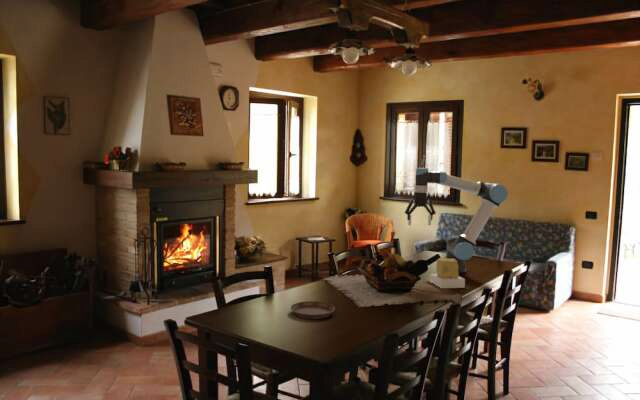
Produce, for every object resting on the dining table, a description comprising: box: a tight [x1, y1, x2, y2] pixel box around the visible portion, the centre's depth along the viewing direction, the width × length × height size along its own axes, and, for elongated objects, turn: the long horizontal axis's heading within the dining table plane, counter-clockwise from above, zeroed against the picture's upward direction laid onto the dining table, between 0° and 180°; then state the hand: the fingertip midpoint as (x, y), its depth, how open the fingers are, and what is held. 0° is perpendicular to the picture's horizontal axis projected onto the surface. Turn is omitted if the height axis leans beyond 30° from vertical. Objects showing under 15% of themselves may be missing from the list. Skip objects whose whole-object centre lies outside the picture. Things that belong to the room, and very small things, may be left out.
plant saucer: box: [290, 300, 336, 320], centre depth 250 cm, size 21×21×3 cm
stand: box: [429, 273, 466, 289], centre depth 316 cm, size 15×15×5 cm
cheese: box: [436, 258, 460, 278], centre depth 315 cm, size 10×11×10 cm
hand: (419, 225), depth 341 cm, fingers open, 13 cm apart
